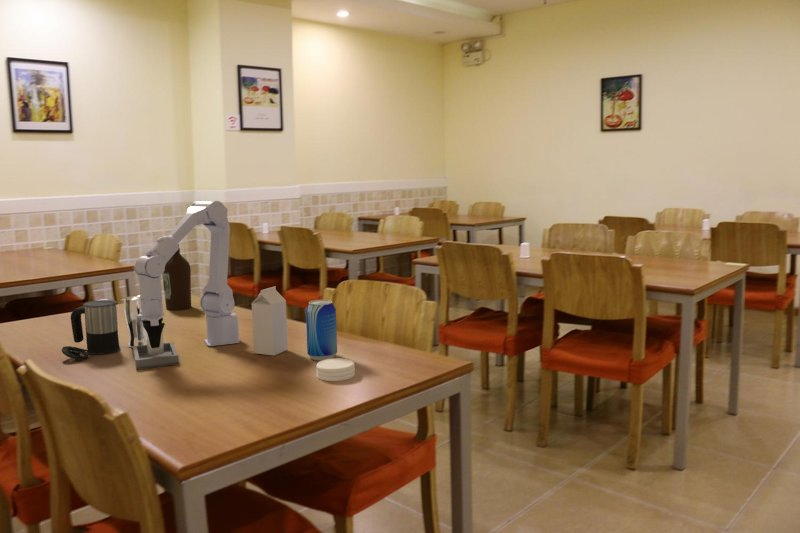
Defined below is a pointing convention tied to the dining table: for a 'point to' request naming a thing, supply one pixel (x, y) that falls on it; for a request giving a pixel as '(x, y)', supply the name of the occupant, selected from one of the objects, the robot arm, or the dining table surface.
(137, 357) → the tray
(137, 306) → the beer glass
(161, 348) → the salt shaker
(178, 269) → the olive oil
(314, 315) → the beer can
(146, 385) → the dining table surface
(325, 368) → the white round container
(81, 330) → the milk frother
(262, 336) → the milk carton
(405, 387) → the dining table surface
